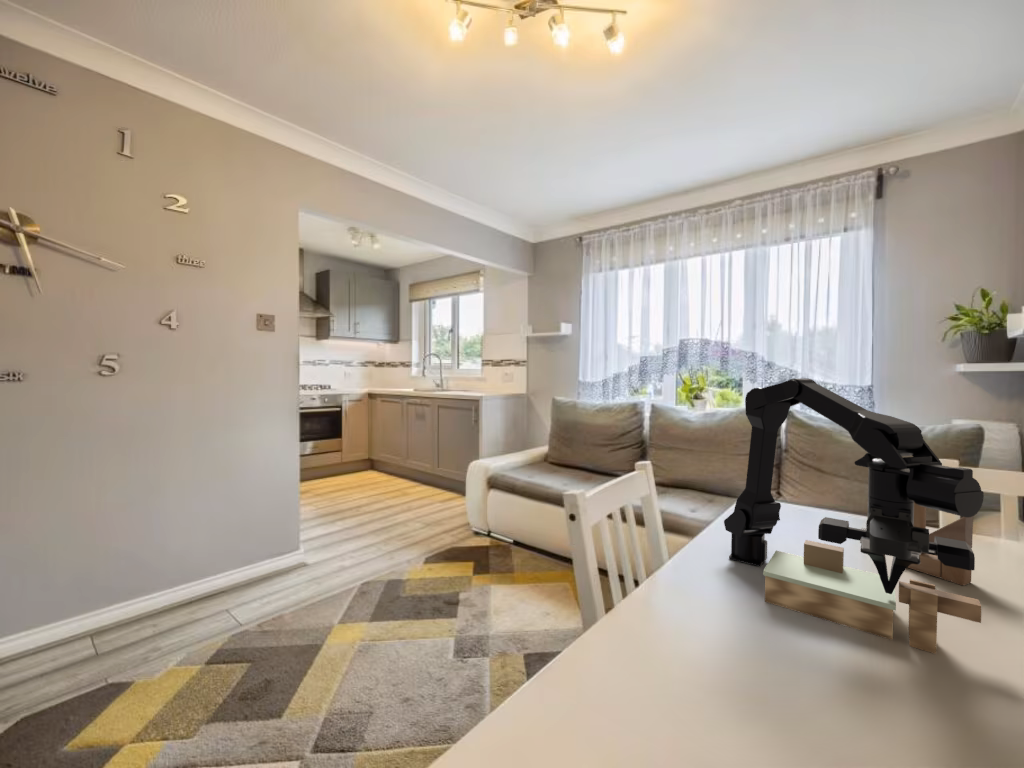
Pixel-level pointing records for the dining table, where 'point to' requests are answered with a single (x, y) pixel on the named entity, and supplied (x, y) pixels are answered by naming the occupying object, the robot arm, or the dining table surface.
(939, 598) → the wooden plank
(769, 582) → the tan wooden box
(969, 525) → the wooden block structure
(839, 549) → the lid
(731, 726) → the dining table surface
